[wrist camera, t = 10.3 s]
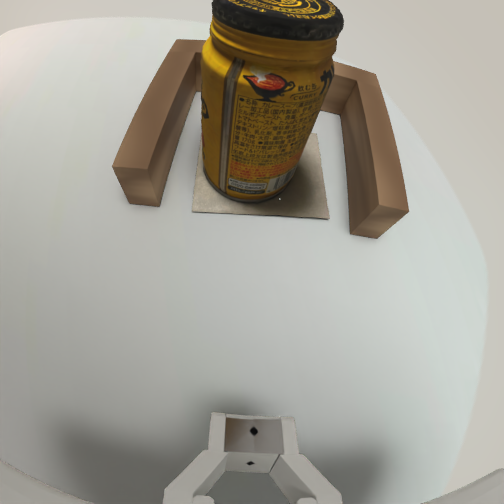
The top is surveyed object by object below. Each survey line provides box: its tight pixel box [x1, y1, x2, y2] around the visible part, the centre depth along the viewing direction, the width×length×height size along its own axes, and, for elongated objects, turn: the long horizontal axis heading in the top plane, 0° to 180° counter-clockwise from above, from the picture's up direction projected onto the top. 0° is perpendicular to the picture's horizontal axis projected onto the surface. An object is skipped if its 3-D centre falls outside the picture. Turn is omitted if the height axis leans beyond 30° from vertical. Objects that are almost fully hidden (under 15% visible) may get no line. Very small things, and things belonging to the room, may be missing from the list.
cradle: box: [112, 39, 409, 239], centre depth 18 cm, size 16×13×4 cm
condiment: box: [192, 0, 344, 219], centre depth 14 cm, size 7×8×12 cm
